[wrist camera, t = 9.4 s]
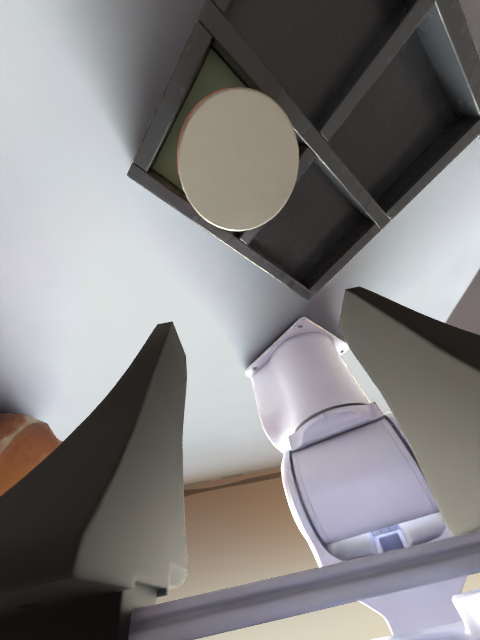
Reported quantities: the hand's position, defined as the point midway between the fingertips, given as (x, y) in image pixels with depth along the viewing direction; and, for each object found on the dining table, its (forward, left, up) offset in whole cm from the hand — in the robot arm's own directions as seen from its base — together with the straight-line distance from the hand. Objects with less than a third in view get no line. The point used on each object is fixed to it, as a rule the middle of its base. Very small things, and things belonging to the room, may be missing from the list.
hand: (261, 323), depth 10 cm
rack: (+7, 0, -10) cm, 13 cm away
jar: (+4, +4, -10) cm, 11 cm away
